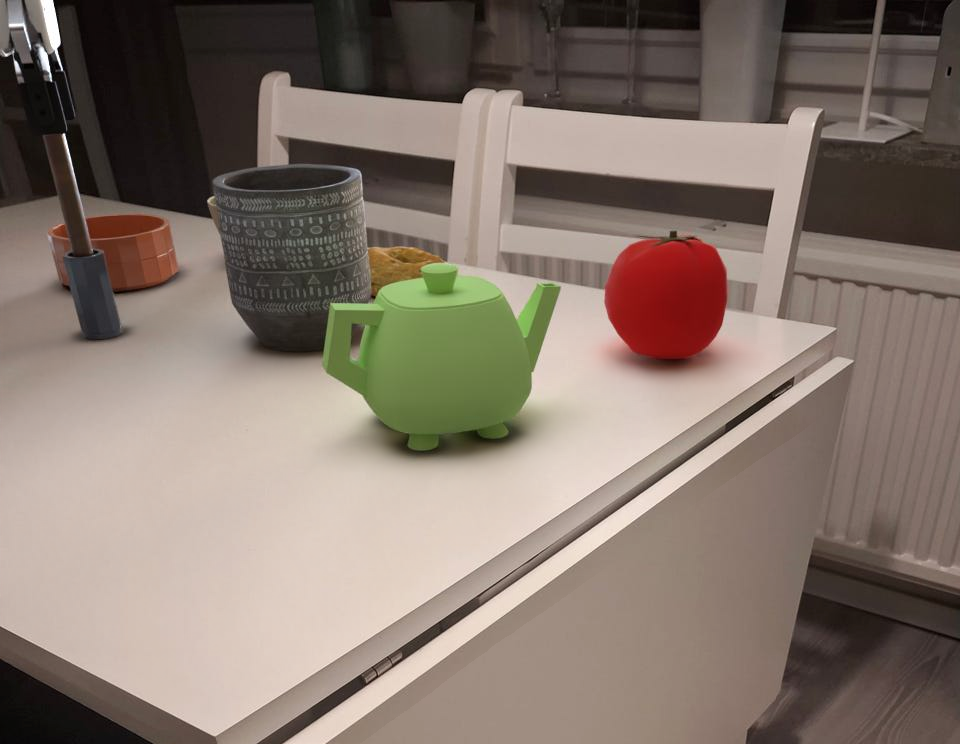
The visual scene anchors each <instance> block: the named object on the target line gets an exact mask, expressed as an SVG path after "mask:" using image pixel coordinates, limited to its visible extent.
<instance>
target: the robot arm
mask: <svg viewBox="0 0 960 744" xmlns="http://www.w3.org/2000/svg"><path fill="white" fill-rule="evenodd" d="M60 46H61V37H60V32H59V25H58V20H57V15H56V9H55V6H54V0H0V56H1V57H2V58H3V57H4V58H6V57H9V56H10V55H12V59H13V65H14V70H15V75H16V76H15V77H16V79H17V82H18V83H17V88H18V92H19V95H20V99H21V103H22V106H23V110H24V114H25V118H26V121H27V126H28V129H29V132H30V134H31V135H32V136H34V137H39V136H43V135H52V134H66V133H67V132H68V126H67V121H73V120H74V119H75V118H76V113H75V109H74V104H73V101H72V97H71V93H70V88H69V84H68V79H67V76H66V73H65V72H66V71H65V70H63V66H62V62H61V58H60V55H59V52H58V48H59V47H60Z"/></svg>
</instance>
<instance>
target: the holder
mask: <svg viewBox="0 0 960 744" xmlns="http://www.w3.org/2000/svg"><path fill="white" fill-rule="evenodd" d="M93 253H94V255H92V256H85V257H73V253H72V251H69V252H66V253H64V254H63V256H62V258H63V262H64V265H65V269H66V273H67V277H68V281H69V285H70V286H69V288H70V293H71V296H72V299H73V304H74V307H75V311H76V315H77V319H78V323H79V328H80V331H81V332H82V336H83V338H85V339H88V340H94V341H95V340H107V339H111V338H116V337H118V336H120V335H121V334H122V333H123V329H122V323H121V318H120V314H119V310H118V306H117V301H116V296H115V292H113V288H112V284H111V279H110V275H109V271H108V267H107V262H106V258H105V254H104V251H103V250H100V249H93Z"/></svg>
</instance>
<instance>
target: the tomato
mask: <svg viewBox="0 0 960 744" xmlns="http://www.w3.org/2000/svg"><path fill="white" fill-rule="evenodd" d="M636 237H639V238H645V239H642V240H638V241H635V242H632V243H629V244H628V245H627V246H626V247H625V248H624V249H623V250H622V251H621V252H620V253H619V254H618V255H617V257H616V259H615V260H614V262H613V264H612V267H611V269H610V272H609V275H608V278H607V281H606V284H605V287H604V299H603V300H604V301H603V302H604V308H605V311H606V314H607V318H608V320H609V322H610V323H611V326H612V327H613V329H614V330H615V332H616V334H617V335H618V336H619V338H620V339H621V340H622V341H623V342H624V343H625V344H626V345H627V347H629V349H630V350H631V351H632V352H633V353H635V354H637V355H639V356H643V357H647V358H652V359H655V360H681V359H682V360H684V359H688V358H691V357H693V356H695V355H697V354H699V353H701V352H702V351H703V350H705V349H706V348H708V347H709V345H710V344H711V343H712V342H713V341H714V340H715V339H716V338H717V335H718V334H719V332H720V330H721V328H722V326H723V324H724V318H725V314H726V308H727V303H728V297H729V289H728V269H727V266H726V265H725V263H724V261H723V259H722V257H721V255H720V253H719V251H718V249H717V247H716V246H715V245H711V244H709V243H706V242H704V241H703V240H702V239H701V238H699V237H698V236H696V235H692V234H680V235H678V230H669V235H667V236H665V235H664V236H646V235H645V236H644V235H636Z"/></svg>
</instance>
